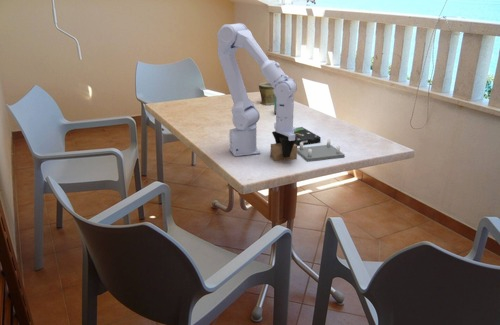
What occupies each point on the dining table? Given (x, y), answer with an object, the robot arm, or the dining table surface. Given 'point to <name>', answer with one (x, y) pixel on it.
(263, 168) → the dining table surface
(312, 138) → the disk drive
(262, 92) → the olive green plant pot
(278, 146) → the walnut block
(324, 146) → the standoff plate
